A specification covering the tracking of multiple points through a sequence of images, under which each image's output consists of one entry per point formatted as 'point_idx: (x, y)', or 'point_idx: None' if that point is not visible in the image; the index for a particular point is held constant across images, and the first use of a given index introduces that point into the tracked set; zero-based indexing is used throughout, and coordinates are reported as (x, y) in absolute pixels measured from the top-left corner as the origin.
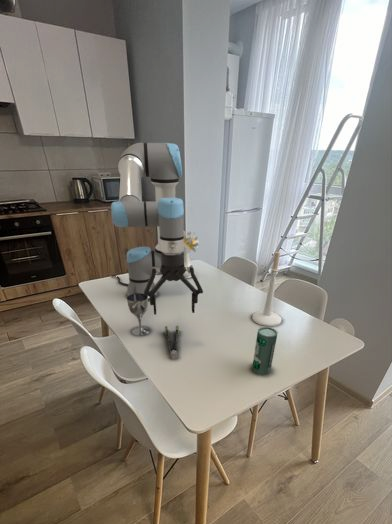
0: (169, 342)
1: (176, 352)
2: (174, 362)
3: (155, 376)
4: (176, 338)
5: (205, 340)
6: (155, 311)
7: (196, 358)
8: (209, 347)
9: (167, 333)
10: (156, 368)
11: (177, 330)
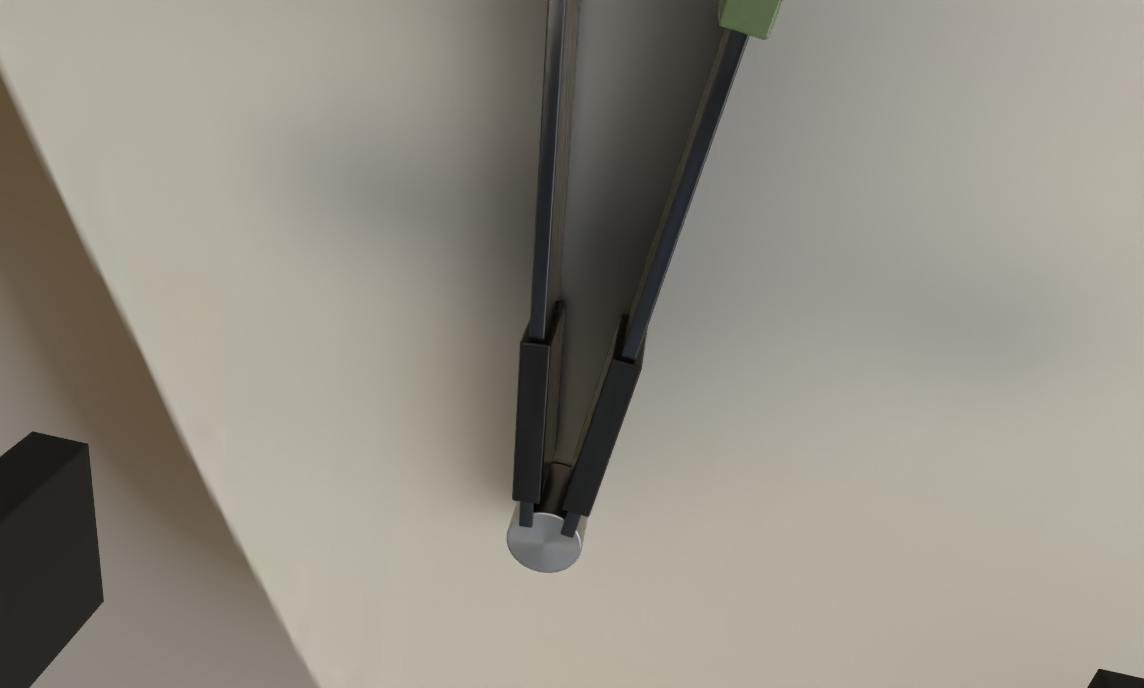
0: (525, 364)
1: (570, 565)
2: None
3: (335, 672)
4: (655, 281)
5: (1121, 274)
6: (34, 662)
7: (797, 580)
8: (1068, 447)
9: (548, 86)
10: (350, 586)
11: (750, 31)
